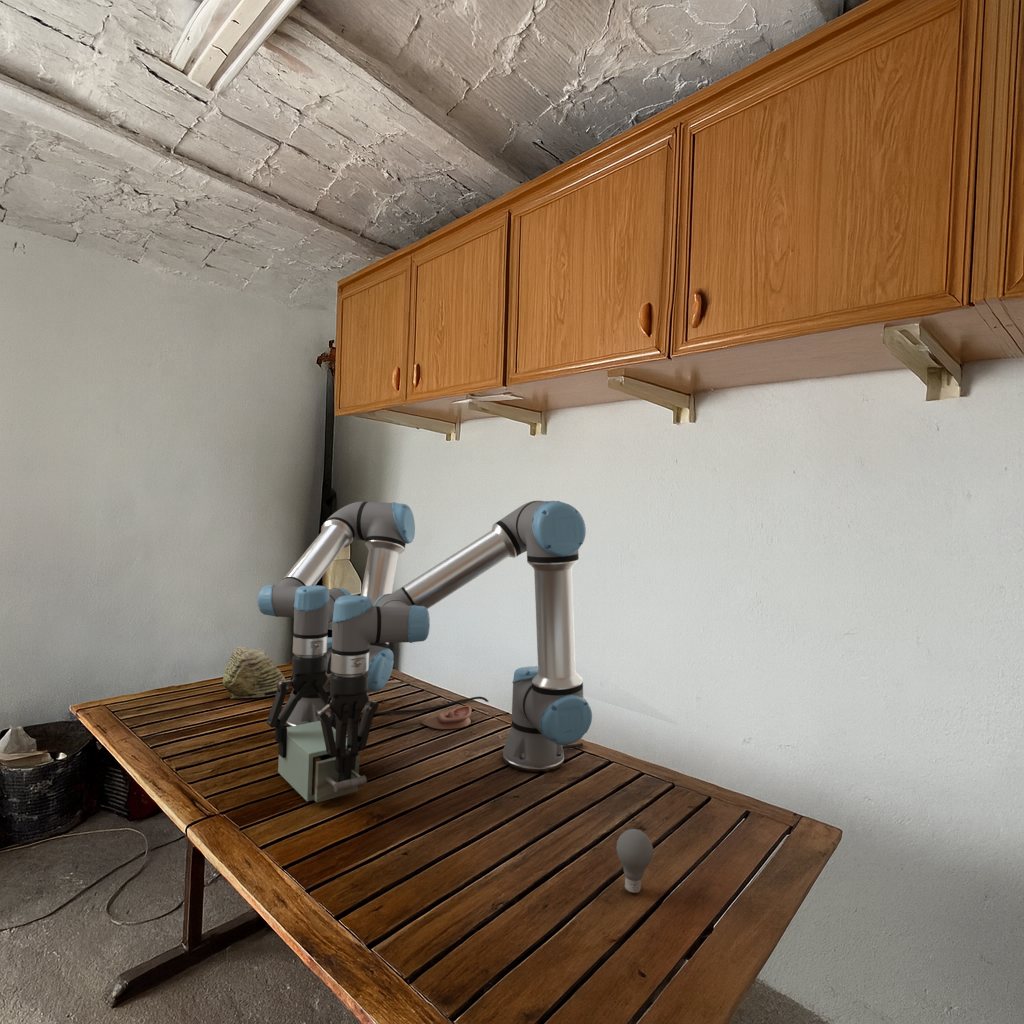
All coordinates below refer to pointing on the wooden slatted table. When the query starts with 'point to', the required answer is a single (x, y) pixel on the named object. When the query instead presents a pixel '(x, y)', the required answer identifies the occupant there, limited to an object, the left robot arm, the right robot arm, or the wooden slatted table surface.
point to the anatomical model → (450, 719)
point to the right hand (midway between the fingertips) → (344, 786)
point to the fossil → (251, 674)
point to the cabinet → (302, 756)
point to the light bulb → (634, 857)
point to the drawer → (333, 779)
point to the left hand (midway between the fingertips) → (306, 750)
